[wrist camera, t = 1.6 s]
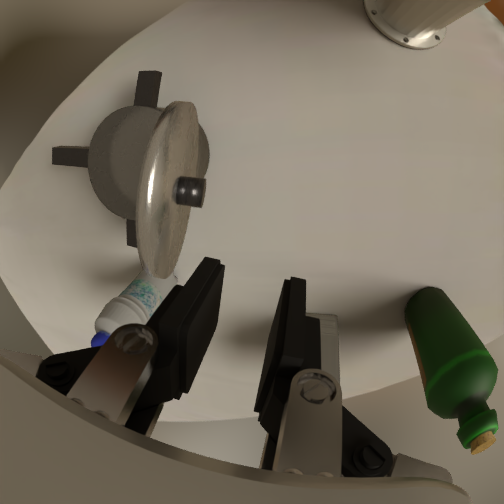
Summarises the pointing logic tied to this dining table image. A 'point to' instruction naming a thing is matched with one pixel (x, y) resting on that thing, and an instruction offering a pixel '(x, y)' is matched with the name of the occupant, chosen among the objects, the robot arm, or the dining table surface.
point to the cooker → (124, 151)
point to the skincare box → (329, 344)
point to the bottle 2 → (453, 367)
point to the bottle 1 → (132, 305)
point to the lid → (168, 189)
